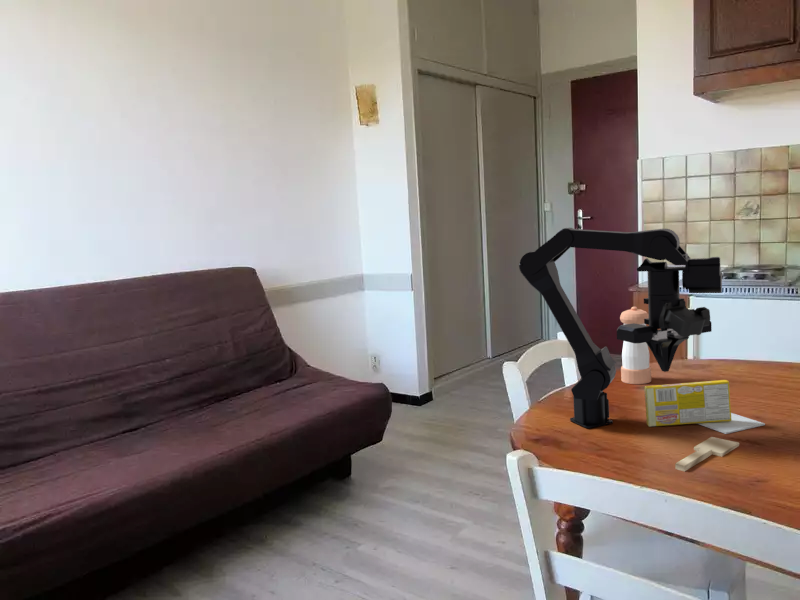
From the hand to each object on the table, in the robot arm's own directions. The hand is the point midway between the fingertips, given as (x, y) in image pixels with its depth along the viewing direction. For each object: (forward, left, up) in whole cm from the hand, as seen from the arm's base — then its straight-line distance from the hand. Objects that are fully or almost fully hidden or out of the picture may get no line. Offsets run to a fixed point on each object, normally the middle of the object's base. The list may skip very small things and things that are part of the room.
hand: (665, 371), depth 129 cm
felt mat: (+12, 0, -12) cm, 17 cm away
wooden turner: (-4, -14, -12) cm, 19 cm away
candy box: (+6, 0, -12) cm, 13 cm away
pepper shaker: (+19, +32, -12) cm, 39 cm away
